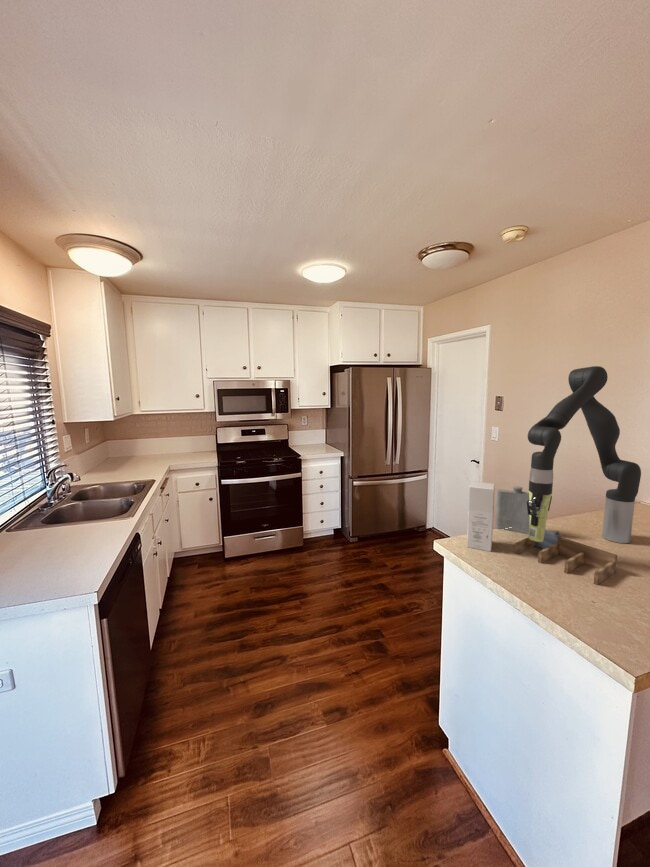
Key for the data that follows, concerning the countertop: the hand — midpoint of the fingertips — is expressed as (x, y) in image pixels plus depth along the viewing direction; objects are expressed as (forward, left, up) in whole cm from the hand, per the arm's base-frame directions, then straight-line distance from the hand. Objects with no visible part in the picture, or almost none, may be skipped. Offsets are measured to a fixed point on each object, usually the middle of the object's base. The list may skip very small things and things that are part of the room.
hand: (537, 523), depth 134 cm
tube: (0, 0, -7) cm, 7 cm away
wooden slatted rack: (-2, +9, -12) cm, 15 cm away
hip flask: (-15, -16, -12) cm, 25 cm away
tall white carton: (+11, -16, -12) cm, 23 cm away
